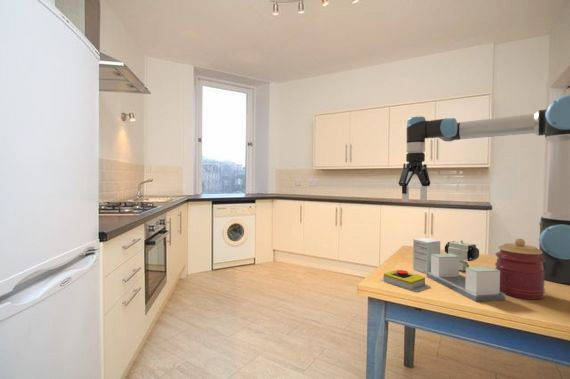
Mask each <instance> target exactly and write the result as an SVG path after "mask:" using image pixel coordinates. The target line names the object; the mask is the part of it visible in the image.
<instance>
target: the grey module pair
mask: <svg viewBox="0 0 570 379" xmlns="http://www.w3.org/2000/svg"><path fill="white" fill-rule="evenodd" d="M431 273H433V274H435V275H437V276H439V277H455V276H459V274H460V270H459V256H456V255H453V254H447V253H440V254H431ZM465 277H466V280H465V289H466V290H468V291H470V292H472V293H475V294H477V295H490V294H499V291H500V270H497V269H496V268H494V267H492V266H491V267H490V266H469V267H466V270H465Z"/></svg>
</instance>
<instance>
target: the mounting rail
mask: <svg viewBox="0 0 570 379" xmlns="http://www.w3.org/2000/svg"><path fill="white" fill-rule="evenodd" d="M426 277H427V278H429V279H431V280H432V281H434V282H436V283H438V284H441V285H442V286H444V287H446V288H448V289H450V290H452V291H454V292H456V293H458V294H460V295H462V296H464V297H466V298H467V299H469V300H471V299H472V301H474V302H477V303H478V302H492V301H493V300H495V301H505V300H506V294H505V293H502V292H500V291H499V294H490V295H477V294H475V293H472V292H470V291H468V290H466V289H465V280H466V276H464V275H463V274H460V273H459V276H455V277H439V276H437V275H435V274H433V273H431V272H427V274H426Z"/></svg>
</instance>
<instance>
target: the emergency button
mask: <svg viewBox="0 0 570 379" xmlns="http://www.w3.org/2000/svg"><path fill="white" fill-rule="evenodd" d="M379 280H380V281H382V282H383V283H384V282H385V283H388V284H390V285H393V286H397V287H399V288H403V289H405V290H409V291H412V292H414V293H415V292H416V293H417V292H421V291H424V290H427V289H429V288H432V286H431V285H429V284H426V278H425V276H423V275H422V276H421V275H418V274H414V273H411V272H408V271H407V270H403V269H395V270H391V271H387V272H384V273H383V278H380V279H379Z"/></svg>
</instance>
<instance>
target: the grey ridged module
mask: <svg viewBox="0 0 570 379" xmlns="http://www.w3.org/2000/svg"><path fill="white" fill-rule="evenodd" d="M412 243H413V244H412V245H413V246H412V247H413V250H412V270H414V271H417V272H419V273H423V274H426V275H427V272H431V254H441V240H438V239H434V238H428V237H422V238H421V237H420V238H414V239H413V241H412Z"/></svg>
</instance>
